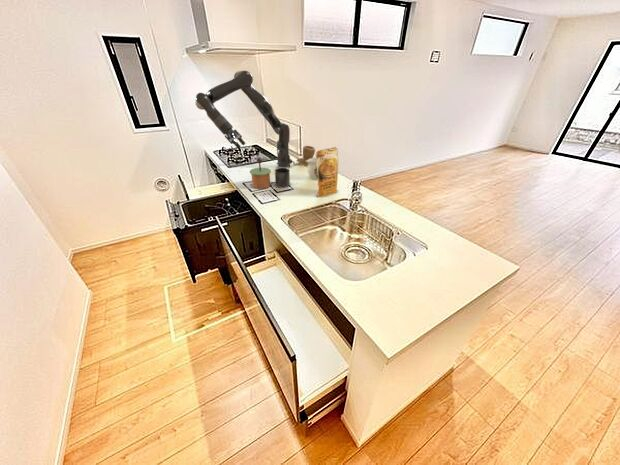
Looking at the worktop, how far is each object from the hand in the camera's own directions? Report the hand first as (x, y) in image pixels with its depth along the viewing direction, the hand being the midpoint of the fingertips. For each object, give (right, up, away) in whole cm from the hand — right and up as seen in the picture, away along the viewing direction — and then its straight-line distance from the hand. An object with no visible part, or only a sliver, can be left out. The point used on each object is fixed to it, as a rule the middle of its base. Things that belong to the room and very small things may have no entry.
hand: (242, 146), depth 162 cm
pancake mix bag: (+54, -30, +3) cm, 61 cm away
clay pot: (+10, -23, +12) cm, 28 cm away
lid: (+10, -15, +7) cm, 19 cm away
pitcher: (+47, -15, +27) cm, 56 cm away
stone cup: (+40, +2, +53) cm, 67 cm away
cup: (+24, -22, +14) cm, 36 cm away
